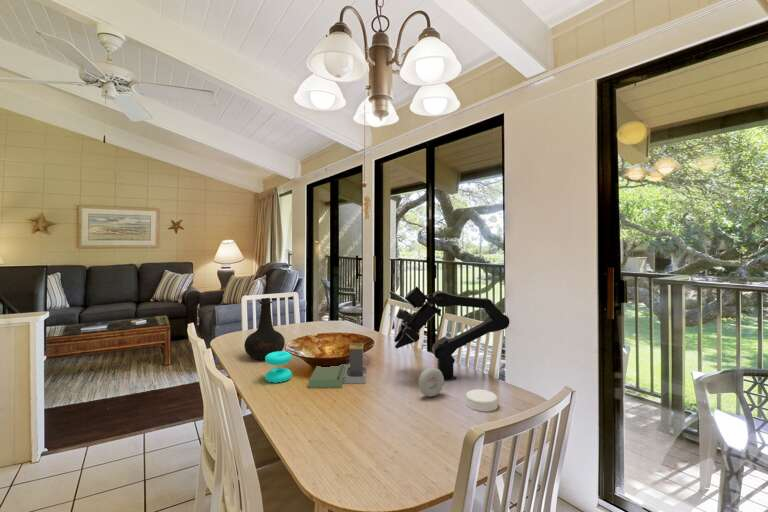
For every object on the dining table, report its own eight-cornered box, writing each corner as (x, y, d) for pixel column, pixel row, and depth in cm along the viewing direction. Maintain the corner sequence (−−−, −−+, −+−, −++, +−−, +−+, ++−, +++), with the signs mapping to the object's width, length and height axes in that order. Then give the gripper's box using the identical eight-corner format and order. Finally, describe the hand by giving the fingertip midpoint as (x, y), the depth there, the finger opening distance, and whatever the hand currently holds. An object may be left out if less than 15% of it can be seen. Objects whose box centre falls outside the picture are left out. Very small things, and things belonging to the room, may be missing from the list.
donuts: (292, 356, 138) (264, 359, 135) (292, 382, 139) (265, 385, 136) (290, 349, 148) (264, 351, 145) (290, 373, 148) (265, 376, 145)
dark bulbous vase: (236, 358, 168) (236, 298, 167) (268, 349, 183) (268, 294, 182) (260, 365, 158) (260, 302, 157) (292, 355, 173) (292, 297, 172)
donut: (440, 391, 129) (440, 363, 129) (446, 395, 126) (446, 366, 126) (416, 397, 124) (416, 368, 124) (422, 401, 121) (422, 371, 121)
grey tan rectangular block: (363, 375, 146) (363, 343, 145) (362, 380, 140) (362, 347, 140) (350, 375, 146) (350, 343, 145) (349, 380, 140) (349, 347, 140)
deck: (367, 369, 153) (367, 360, 153) (364, 387, 133) (364, 377, 133) (318, 369, 153) (318, 361, 153) (309, 387, 133) (309, 378, 133)
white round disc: (460, 401, 121) (460, 391, 121) (484, 397, 125) (484, 387, 125) (478, 414, 112) (478, 403, 112) (504, 409, 115) (504, 398, 115)
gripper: (406, 298, 152) (380, 325, 152) (410, 305, 133) (380, 336, 133) (425, 317, 152) (399, 343, 152) (431, 326, 133) (402, 356, 134)
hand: (395, 344), depth 143 cm, fingers open, 9 cm apart
